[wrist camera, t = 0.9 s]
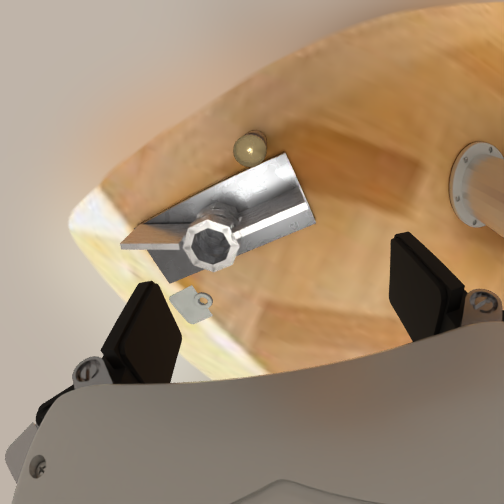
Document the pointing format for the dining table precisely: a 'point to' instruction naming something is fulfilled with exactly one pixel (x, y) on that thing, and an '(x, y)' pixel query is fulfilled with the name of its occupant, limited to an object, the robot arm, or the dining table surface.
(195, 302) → the mounting bracket
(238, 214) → the hinge stand
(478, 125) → the dining table surface
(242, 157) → the hinge pin
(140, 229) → the hinge leaf
